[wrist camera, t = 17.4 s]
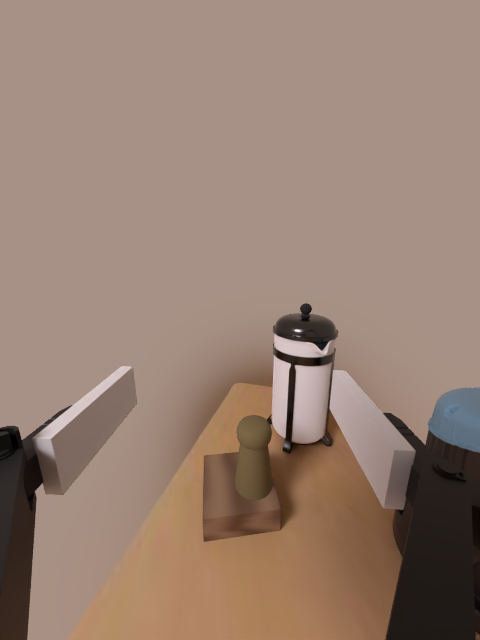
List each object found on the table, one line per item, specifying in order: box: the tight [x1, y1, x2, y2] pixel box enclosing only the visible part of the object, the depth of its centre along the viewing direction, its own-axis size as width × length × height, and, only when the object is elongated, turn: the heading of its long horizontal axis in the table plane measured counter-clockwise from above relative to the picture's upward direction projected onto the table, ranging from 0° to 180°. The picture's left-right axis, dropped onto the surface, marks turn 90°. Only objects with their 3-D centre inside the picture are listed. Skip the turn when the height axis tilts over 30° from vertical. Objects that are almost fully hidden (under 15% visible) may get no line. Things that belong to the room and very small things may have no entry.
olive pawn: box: [235, 415, 273, 500], centre depth 36 cm, size 6×6×11 cm
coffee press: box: [267, 304, 338, 454], centre depth 52 cm, size 17×16×30 cm
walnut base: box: [203, 452, 281, 541], centre depth 39 cm, size 11×11×4 cm
